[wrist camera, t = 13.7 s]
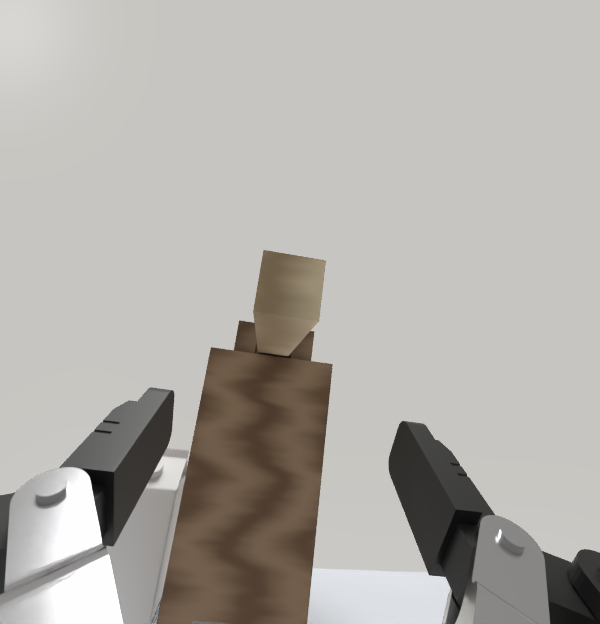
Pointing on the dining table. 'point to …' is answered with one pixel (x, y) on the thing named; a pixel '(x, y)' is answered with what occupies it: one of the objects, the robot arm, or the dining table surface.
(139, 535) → the milk carton
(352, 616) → the dining table surface
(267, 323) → the wooden block
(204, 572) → the pedestal
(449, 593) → the robot arm
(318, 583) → the dining table surface
